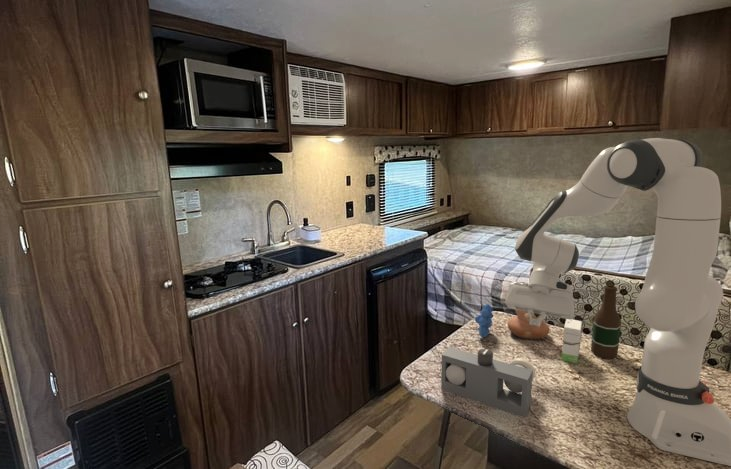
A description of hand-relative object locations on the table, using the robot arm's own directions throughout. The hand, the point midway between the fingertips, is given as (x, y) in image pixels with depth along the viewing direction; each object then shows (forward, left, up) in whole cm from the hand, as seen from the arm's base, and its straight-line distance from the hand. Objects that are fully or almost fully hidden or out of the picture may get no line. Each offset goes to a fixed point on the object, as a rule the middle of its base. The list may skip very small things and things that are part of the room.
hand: (534, 325), depth 122 cm
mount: (+7, +23, -15) cm, 29 cm away
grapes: (+21, -15, -15) cm, 30 cm away
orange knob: (+15, +22, -12) cm, 30 cm away
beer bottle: (-18, -23, -15) cm, 33 cm away
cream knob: (0, +17, -12) cm, 21 cm away
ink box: (-9, -15, -15) cm, 23 cm away
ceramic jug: (+7, -25, -15) cm, 30 cm away
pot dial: (+7, +24, -4) cm, 25 cm away
